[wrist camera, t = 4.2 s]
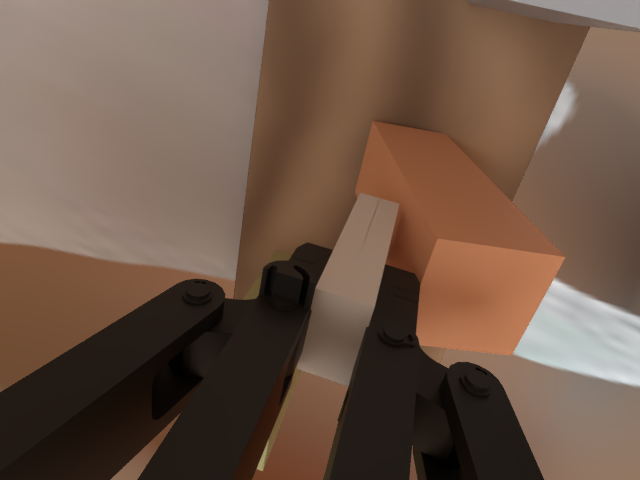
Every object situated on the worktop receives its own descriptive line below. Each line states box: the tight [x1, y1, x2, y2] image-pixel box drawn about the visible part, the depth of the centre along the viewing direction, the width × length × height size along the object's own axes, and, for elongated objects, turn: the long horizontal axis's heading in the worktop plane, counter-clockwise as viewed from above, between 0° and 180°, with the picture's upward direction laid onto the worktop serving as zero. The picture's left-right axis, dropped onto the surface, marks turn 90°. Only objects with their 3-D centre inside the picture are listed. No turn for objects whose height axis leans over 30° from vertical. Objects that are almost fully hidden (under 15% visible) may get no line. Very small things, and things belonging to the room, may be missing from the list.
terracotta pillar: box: [355, 121, 565, 355], centre depth 19 cm, size 4×4×12 cm
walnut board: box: [233, 0, 590, 363], centre depth 25 cm, size 15×31×1 cm, turn 169°
